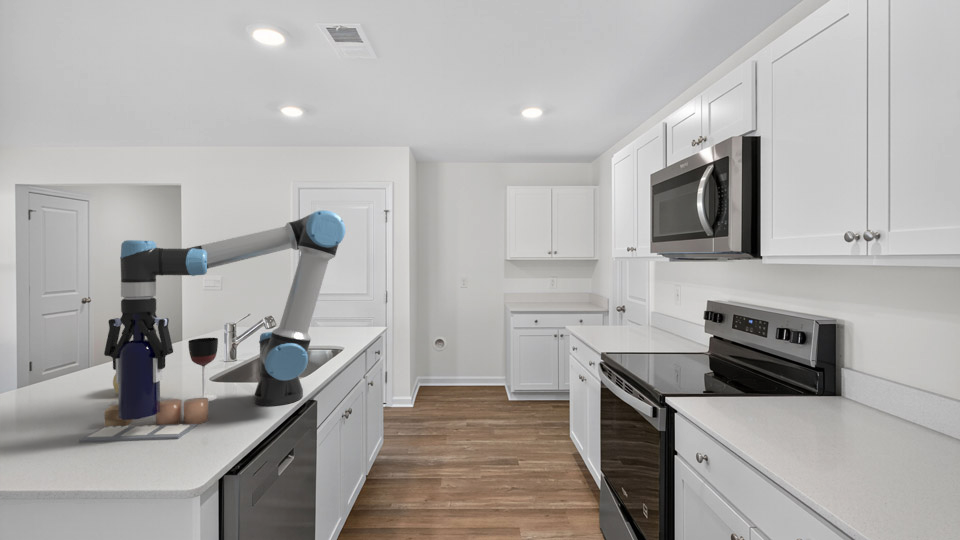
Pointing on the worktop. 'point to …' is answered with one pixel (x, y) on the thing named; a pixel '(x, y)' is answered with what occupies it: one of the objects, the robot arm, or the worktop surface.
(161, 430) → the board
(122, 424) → the oak box
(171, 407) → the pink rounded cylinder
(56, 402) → the worktop surface
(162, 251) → the robot arm
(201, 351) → the wineglass
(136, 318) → the bottle
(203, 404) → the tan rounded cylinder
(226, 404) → the worktop surface
